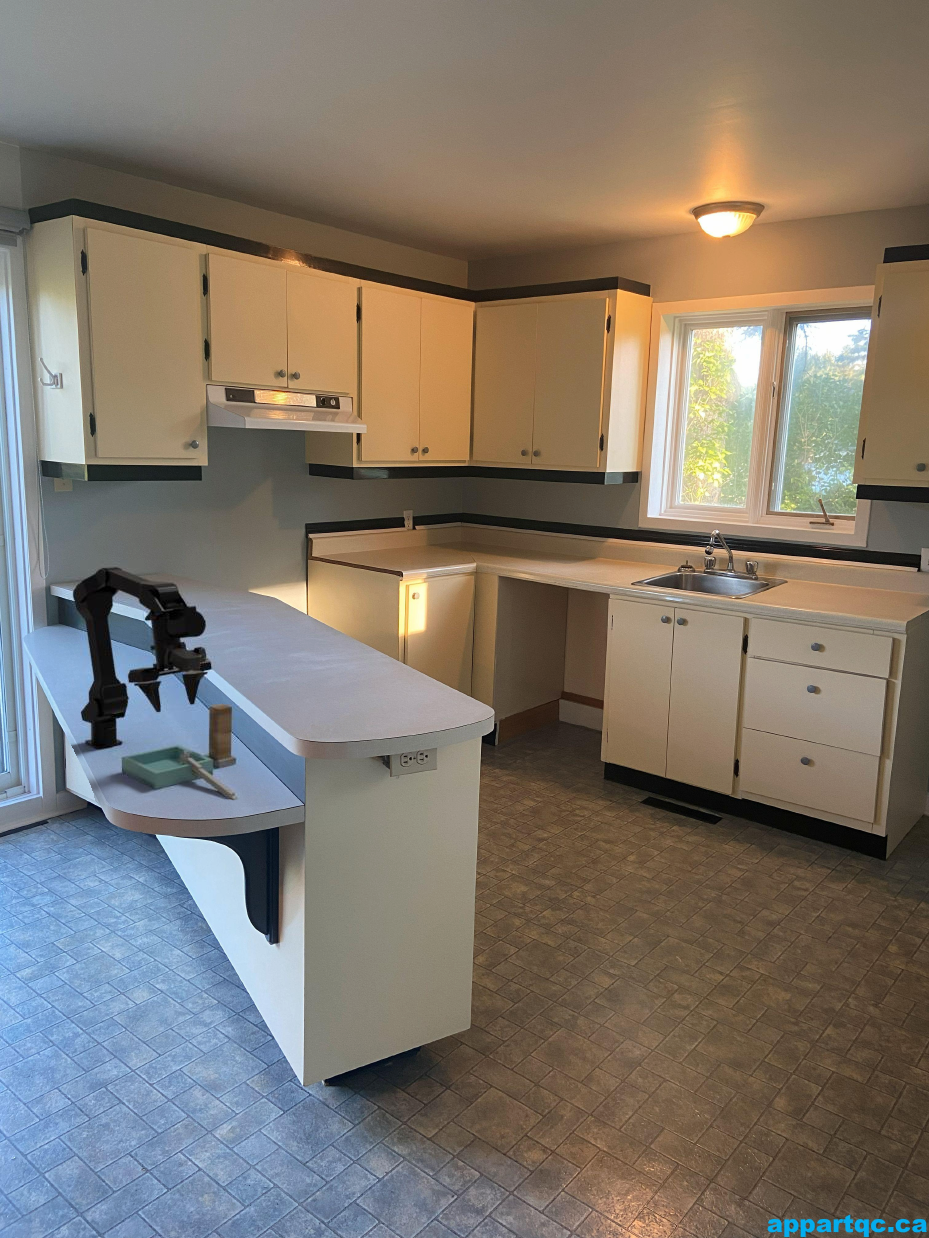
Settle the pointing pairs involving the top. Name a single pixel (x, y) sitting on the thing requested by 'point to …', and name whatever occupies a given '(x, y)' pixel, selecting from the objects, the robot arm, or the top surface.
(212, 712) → the tall tan wooden block
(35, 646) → the top surface
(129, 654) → the top surface
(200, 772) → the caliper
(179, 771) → the tray
